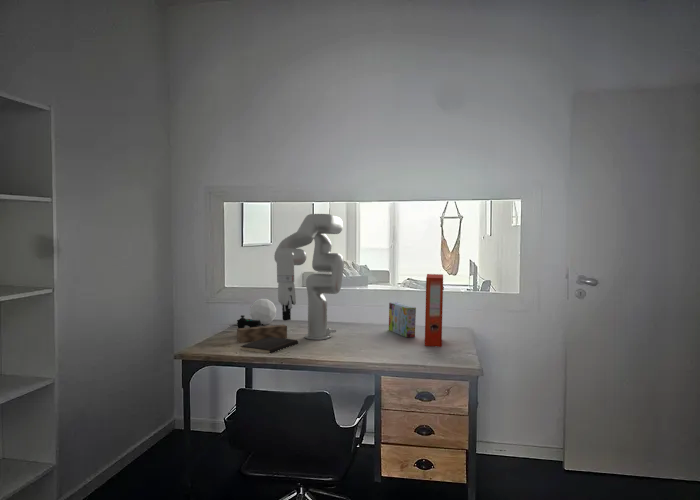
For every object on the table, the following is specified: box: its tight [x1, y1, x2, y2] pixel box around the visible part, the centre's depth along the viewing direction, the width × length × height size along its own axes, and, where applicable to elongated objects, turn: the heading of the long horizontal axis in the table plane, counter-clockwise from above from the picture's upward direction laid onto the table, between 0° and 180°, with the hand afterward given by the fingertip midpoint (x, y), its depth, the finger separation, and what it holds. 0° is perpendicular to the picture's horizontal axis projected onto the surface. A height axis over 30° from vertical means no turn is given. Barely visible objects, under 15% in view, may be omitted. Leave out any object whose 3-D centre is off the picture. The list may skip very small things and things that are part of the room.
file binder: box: [424, 273, 444, 348], centre depth 279 cm, size 8×17×32 cm, turn 171°
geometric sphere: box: [249, 298, 277, 326], centre depth 324 cm, size 14×15×15 cm
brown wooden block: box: [236, 324, 288, 344], centre depth 284 cm, size 24×4×6 cm, turn 118°
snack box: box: [388, 301, 417, 338], centre depth 301 cm, size 21×6×15 cm, turn 22°
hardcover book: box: [240, 337, 299, 354], centre depth 269 cm, size 16×23×2 cm
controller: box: [236, 315, 262, 329], centre depth 293 cm, size 4×12×10 cm, turn 76°
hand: (286, 319), depth 257 cm, fingers closed
